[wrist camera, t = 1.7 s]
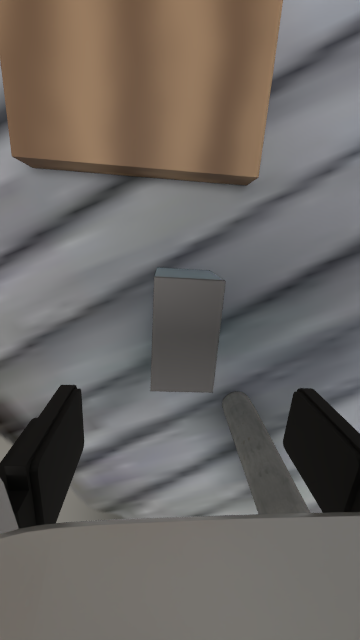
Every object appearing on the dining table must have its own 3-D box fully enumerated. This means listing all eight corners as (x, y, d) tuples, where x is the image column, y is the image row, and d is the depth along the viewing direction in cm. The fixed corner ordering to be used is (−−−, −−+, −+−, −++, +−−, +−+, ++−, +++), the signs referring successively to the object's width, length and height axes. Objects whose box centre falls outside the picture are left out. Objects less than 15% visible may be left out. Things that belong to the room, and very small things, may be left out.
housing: (209, 270, 24) (225, 281, 18) (201, 355, 27) (212, 392, 20) (157, 267, 24) (154, 277, 17) (154, 353, 27) (150, 391, 20)
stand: (269, 3, 18) (288, -40, 16) (246, 185, 22) (258, 177, 19) (13, -32, 17) (-17, -86, 14) (33, 167, 21) (11, 156, 18)
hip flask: (218, 397, 29) (324, 711, 10) (252, 385, 28) (431, 683, 9) (254, 492, 33) (372, 829, 14) (284, 483, 33) (443, 812, 14)
